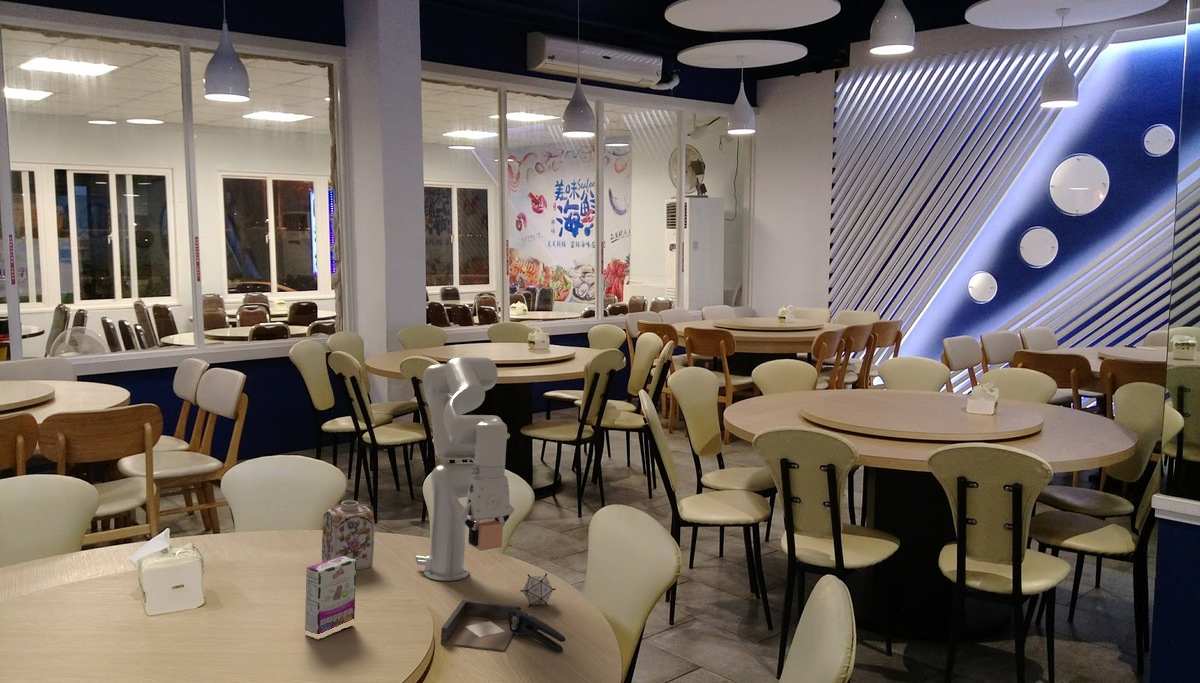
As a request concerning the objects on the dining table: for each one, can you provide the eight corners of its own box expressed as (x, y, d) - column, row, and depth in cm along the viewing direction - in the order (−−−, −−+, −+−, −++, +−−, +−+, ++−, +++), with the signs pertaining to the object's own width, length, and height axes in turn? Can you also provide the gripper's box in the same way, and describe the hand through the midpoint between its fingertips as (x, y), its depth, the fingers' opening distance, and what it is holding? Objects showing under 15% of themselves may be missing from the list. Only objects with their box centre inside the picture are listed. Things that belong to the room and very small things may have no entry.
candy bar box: (340, 620, 215) (343, 554, 214) (354, 626, 213) (358, 559, 211) (302, 635, 206) (305, 566, 205) (317, 641, 203) (320, 571, 202)
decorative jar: (360, 555, 263) (363, 495, 261) (373, 568, 253) (376, 506, 251) (319, 560, 256) (322, 499, 255) (331, 573, 246) (334, 509, 245)
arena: (440, 643, 206) (441, 627, 206) (461, 614, 224) (462, 599, 224) (504, 651, 205) (505, 635, 204) (520, 621, 223) (521, 606, 222)
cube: (468, 543, 221) (469, 520, 221) (489, 540, 225) (490, 517, 224) (480, 550, 217) (482, 526, 216) (501, 547, 220) (503, 523, 220)
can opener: (499, 630, 215) (501, 608, 215) (520, 623, 220) (523, 601, 220) (551, 657, 203) (554, 633, 203) (572, 649, 209) (575, 626, 208)
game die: (540, 621, 233) (548, 600, 227) (512, 605, 234) (519, 584, 228) (555, 595, 240) (563, 574, 233) (527, 580, 241) (535, 559, 235)
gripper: (466, 477, 211) (462, 552, 212) (526, 471, 222) (522, 542, 223) (450, 470, 217) (446, 543, 218) (510, 465, 228) (506, 534, 229)
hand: (485, 542), depth 221 cm, fingers closed on cube, 5 cm apart
